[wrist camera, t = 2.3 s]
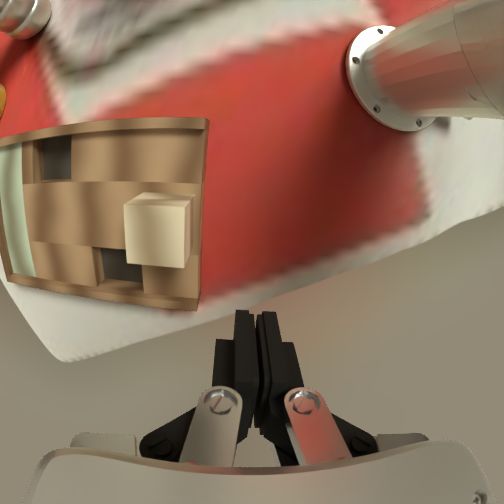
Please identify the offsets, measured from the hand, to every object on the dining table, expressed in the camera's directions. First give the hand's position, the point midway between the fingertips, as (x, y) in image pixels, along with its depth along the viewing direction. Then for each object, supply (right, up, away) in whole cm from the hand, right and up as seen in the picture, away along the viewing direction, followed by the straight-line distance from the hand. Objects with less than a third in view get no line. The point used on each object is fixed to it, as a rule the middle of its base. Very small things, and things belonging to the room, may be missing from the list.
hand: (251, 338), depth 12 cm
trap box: (-19, +9, +15) cm, 26 cm away
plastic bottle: (-27, +33, +5) cm, 43 cm away
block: (-8, +7, +14) cm, 17 cm away
